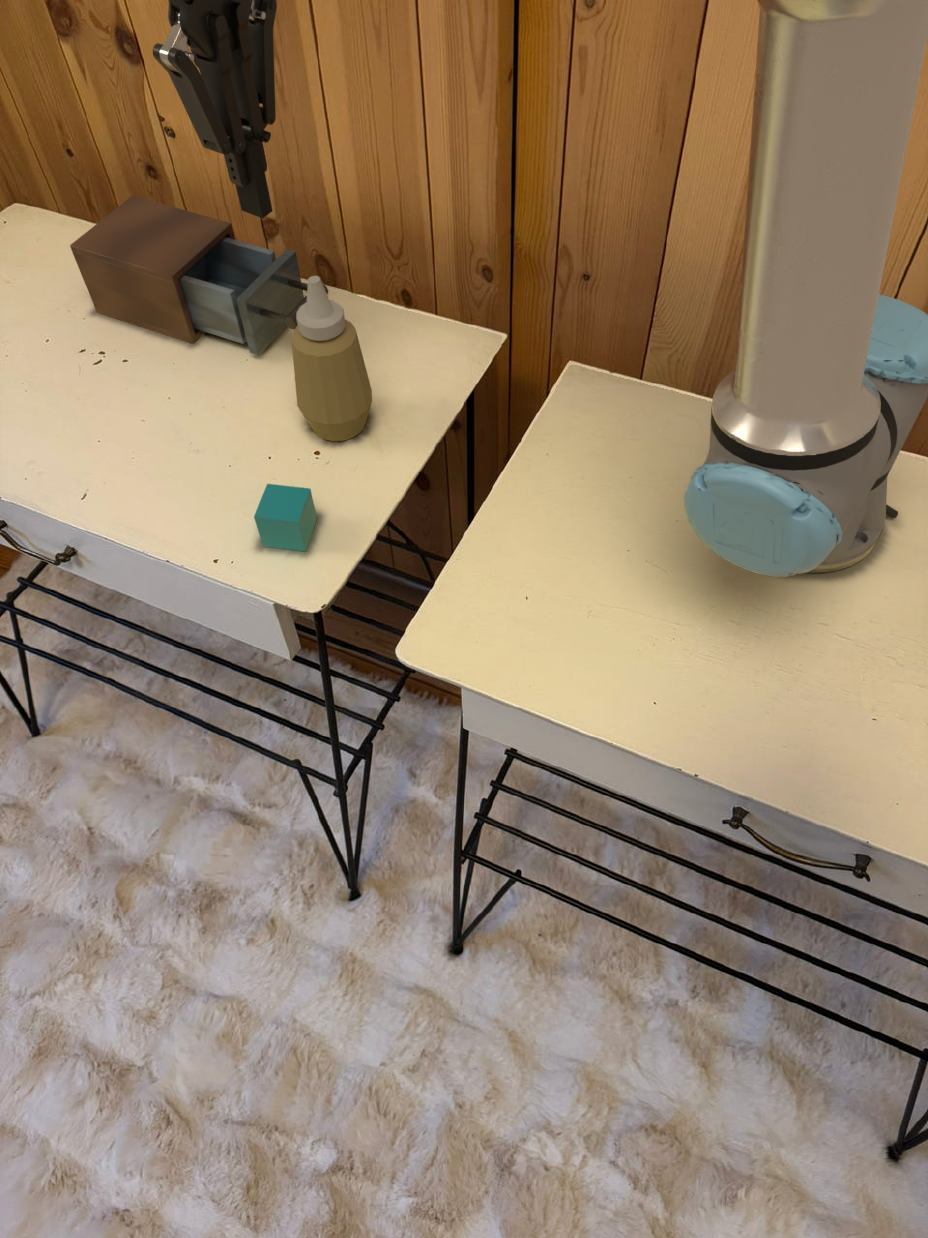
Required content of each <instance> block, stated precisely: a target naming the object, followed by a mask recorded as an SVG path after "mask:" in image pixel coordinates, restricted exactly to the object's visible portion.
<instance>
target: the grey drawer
mask: <svg viewBox="0 0 928 1238" xmlns="http://www.w3.org/2000/svg"><path fill="white" fill-rule="evenodd" d="M300 272H301V271H300V267H299V261H298V256H297V252H296V251H295V250H292V249H289V248H286V249H285V250H284V251H283V252H282V253H281V254H280V255H279V256H277V257H276V253H275V250H273V249H270V248H266V247H261V246H259V245H254V244H252V243H247V242H244V241H240V240H238V239H235V240H234V239H231V238H227V237H224V238H222V239H221V240H220V241H219V242H218V243H217V244H216V245H215V246H214V247H213V248H211V249H210V250H209V251H208V252H207V253H206V254H205V255H204V256H203V257H202V258H201V259H199V260H198V261H197V262H196V263H195V264H194V265H193V266H192V267H191V268H190V269H188V270H187V271H186V272H185V273H184V274H183V275H182V276H181V277H180V278H179V279H178V280H179V284H180V287H181V290H182V293H183V296H184V300H185V303H186V306H187V309H188V312H189V316H190V319H191V322H192V325H193V328H195V329H198V330H201V331H204V332H205V333H207V334H211V335H215V336H217V337H220V338H223V339H226V340H229V341H233V342H235V343H239V344H241V345H244V344H245V343H246V342H247V346H248V350H249V353H250V354H253V355H255V356H259V355H261V354H262V353H263V351H265V349H266V348H267V347H268V346H269V345H270V344H271V343H272V342H273V341H274V340H275V339H276V338H277V336H279V334H280V333H282V331H283V330H284V329H285V328H286V327H287V328H288V329H289V330H291V331H292V330H293V331H294V330H295V328H296V327H297V326H298V324H297V319H296V314H297V311H298V309H299V308H300V307H301V306H302V305H303V304H305V303H306V302H307V295H305V294H304V292H307V288H308V283H307V282H306V283H305V282H302V278H301V273H300ZM322 284H323V286H324V289H325V291H326V293H327V296H328V295H329V289H328V287H327V285H325V284H324V283H322Z"/></svg>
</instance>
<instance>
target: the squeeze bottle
mask: <svg viewBox="0 0 928 1238" xmlns="http://www.w3.org/2000/svg"><path fill="white" fill-rule="evenodd" d="M307 284H308V288H307V291H306V296H307V302H306V303H305V304H303V305H302V306H301V307H300V308H299V309H298V311H297V314H296V319H297V324H298V326H297V327H296V328H295V329H294V330H293V331H292V333H291V350H292V360H293V372H294V373H293V374H294V383H295V394H296V407H297V408H298V410H299V411H300V412H301V414H302V416H303V417H304V419H305V420H306V421H307V423H308V425H309V426H310V428H311V429H312V430H313V431H314V433H315V434H316V435H317V436H318V437H319V438H322V439H323V440H326V441H331V442H340V441H343V442H344V441H347V440H350V439H353V438H355V437H356V436H358V435H359V434H360V433H362V431H363V430H364V428H365V426H366V423H367V421H368V417H369V413H370V409H371V405H372V402H373V391H372V385H371V382H370V379H369V375H368V370H367V367H366V364H365V358H364V356H363V352H362V348H361V345H360V340H359V337H358V332H357V329H356V327H355V326H354V325H353V323H352V322H351V321H350V320H347V318H346V317H345V309H344V307H343V306H342V304H340V303H339V302H338V301H335V300H333V299H330V298H329V296H328V295H327V293H326V291H325V289H324V286H323V284H324V283H323V281H322V279H321V277H320V276H318V275H312V276H310V277H308V279H307Z"/></svg>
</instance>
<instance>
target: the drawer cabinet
mask: <svg viewBox="0 0 928 1238" xmlns="http://www.w3.org/2000/svg"><path fill="white" fill-rule="evenodd" d="M224 237H227V238H231V239H234V240H236V236H235V232H234V228H233V224H232V222H229V221H225V220H222V219H218V218H215V217H211V216H207V215H203V214H200V213H197V212H193V211H189V210H186V209H182V208H178V207H175V206H171V205H169V204H164V203H161V202H157V201H154V200H150V199H146V198H143V197H140V196H136V195H131V196H129V197H128V198H127V199H125V201H124V202H122V203H121V204H120V205H118V206H117V207H116V208H115V209H114V210H112V211H111V212H110V213H108V214H107V215H106V216H105V217H103V218H102V219H100V221H98V222H97V223H96V224H95V225H93V226H92V227H91V228H90V229H88V230H87V231H86V232H85V233H84V234H82V235H81V236H80V237H79V238H77V239H76V240H75V241H73V242H72V243H71V244H70V245H69V248H70V250H71V253H72V255H73V257H74V261H75V262H76V265H77V268H78V270H79V272H80V275H81V277H82V280H83V282H84V284H85V287H86V290H87V292H88V294H89V297H90V299H91V302H92V304H93V307H94V309H95V311H96V313H98V314H100V315H104V316H107V317H110V318H113V319H116V320H119V321H123V322H125V323H128V324H132V325H133V326H138V327H140V328H143V329H147V330H150V331H153V332H156V333H159V334H162V335H165V336H168V337H170V338H174V339H177V340H181V341H182V342H186V343H190V344H192V345H194V344H195V343H196V342H197V341H198V340H199V339H200V338H201V337H202V336H203V335H204V334H205V333H206V332H204V331H201V330H198V329H195V328H193V325H192V322H191V319H190V316H189V312H188V309H187V306H186V303H185V300H184V296H183V293H182V290H181V287H180V284H179V280H178V279H179V278H180V277H181V276H182V275H183V274H184V273H185V272H186V271H187V270H188V269H190V268H191V267H192V266H193V265H194V264H195V263H196V262H197V261H198V260H199V259H201V258H202V257H203V256H204V255H205V254H206V253H207V252H208V251H209V250H210V249H211V248H213V247H214V246H215V245H216V244H217V243H218V242H219V241H220V240H221V239H222V238H224Z"/></svg>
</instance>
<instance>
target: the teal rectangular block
mask: <svg viewBox="0 0 928 1238" xmlns="http://www.w3.org/2000/svg"><path fill="white" fill-rule="evenodd" d="M261 495H262V496H261V498H260V501H259V503H258V506H257V508H256V511H255V513H254V516H253V519H254V522H255V526H256V528H257V531H258V534H259V538H260V541H261V545H262V547H264V548H272V549H279V550H280V549H282V550H288V551H297V552H307V549H308V547H309V544H310V542H311V541H310V540H311V538H312V535H313V532H314V529H315V527H316V523H317V520H318V515H317V512H316V507H315V502H314V498H313V494H312V490H311V488H309V487H299V486H291V485H283V484H274V483H266V486H265V488H264V491H263V493H262V494H261Z"/></svg>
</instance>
